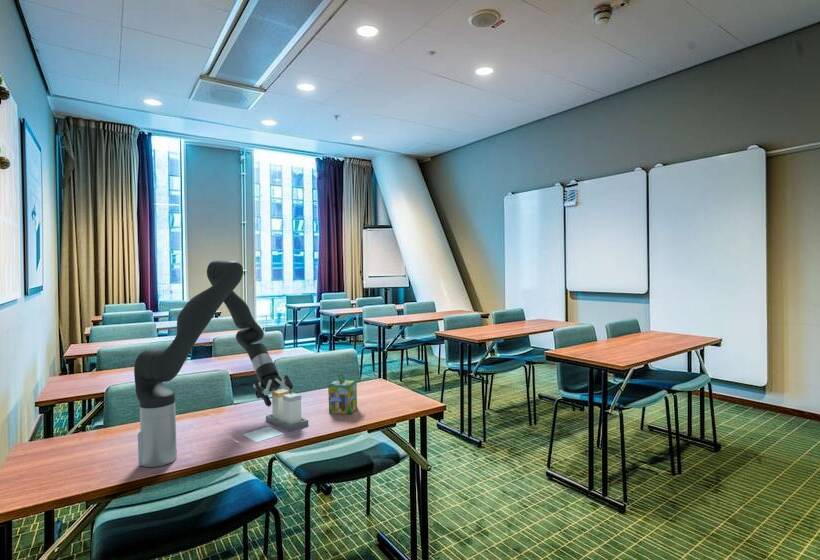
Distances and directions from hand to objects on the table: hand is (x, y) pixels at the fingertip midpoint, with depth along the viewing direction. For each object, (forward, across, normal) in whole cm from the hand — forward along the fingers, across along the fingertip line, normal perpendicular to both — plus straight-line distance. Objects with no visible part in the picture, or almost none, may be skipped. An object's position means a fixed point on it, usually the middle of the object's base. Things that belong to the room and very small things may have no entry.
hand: (280, 402), depth 165 cm
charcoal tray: (+8, 0, +2) cm, 8 cm away
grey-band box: (+10, 0, -1) cm, 10 cm away
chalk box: (+11, +23, -1) cm, 25 cm away
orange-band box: (+5, 0, +4) cm, 7 cm away
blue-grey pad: (+11, -12, -1) cm, 16 cm away
